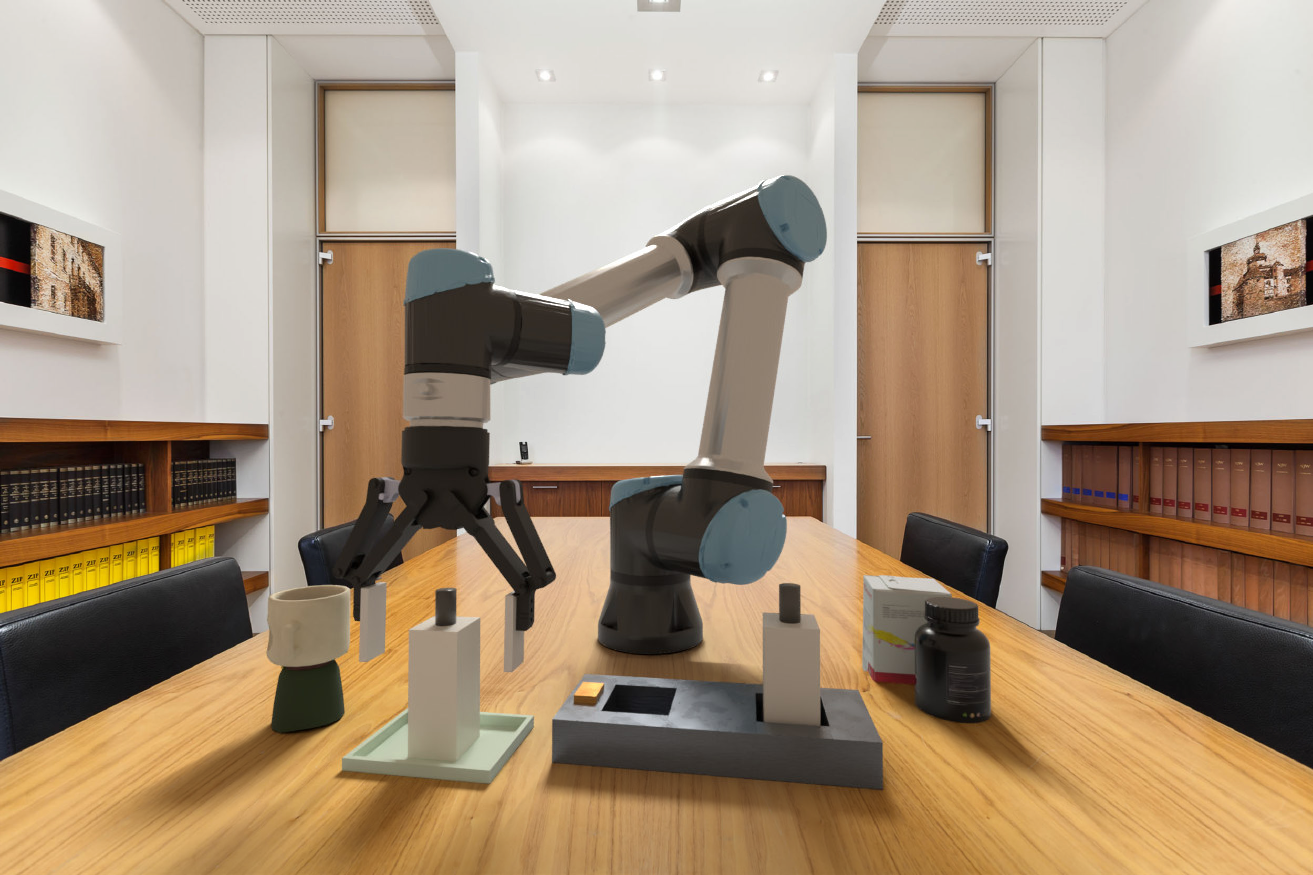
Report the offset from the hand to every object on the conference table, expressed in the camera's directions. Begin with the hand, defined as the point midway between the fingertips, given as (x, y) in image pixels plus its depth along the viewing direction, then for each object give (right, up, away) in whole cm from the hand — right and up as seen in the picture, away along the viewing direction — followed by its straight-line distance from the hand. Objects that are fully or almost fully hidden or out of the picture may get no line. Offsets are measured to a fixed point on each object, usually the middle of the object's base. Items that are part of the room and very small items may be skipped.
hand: (441, 662), depth 54 cm
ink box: (+48, -9, +16) cm, 52 cm away
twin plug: (+31, -7, -3) cm, 32 cm away
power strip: (+24, -8, -2) cm, 26 cm away
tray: (0, -8, 0) cm, 8 cm away
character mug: (-15, -8, +5) cm, 18 cm away
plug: (0, -8, 0) cm, 8 cm away
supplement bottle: (+49, -8, +6) cm, 50 cm away
